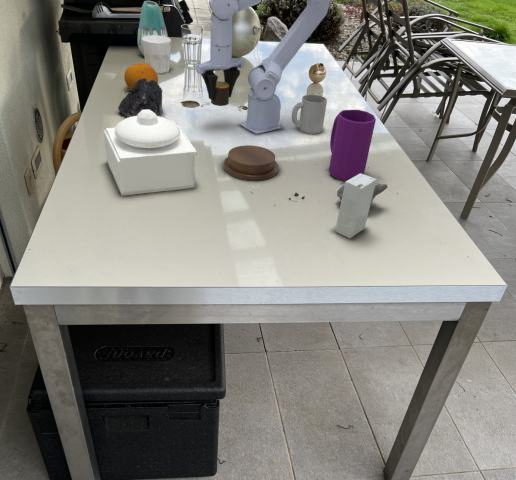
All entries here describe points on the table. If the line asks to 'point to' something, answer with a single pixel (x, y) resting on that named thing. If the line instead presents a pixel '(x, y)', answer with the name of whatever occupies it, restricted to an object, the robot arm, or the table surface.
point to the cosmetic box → (355, 205)
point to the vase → (150, 23)
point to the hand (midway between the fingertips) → (220, 97)
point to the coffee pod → (221, 94)
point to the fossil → (377, 190)
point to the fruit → (139, 74)
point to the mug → (350, 143)
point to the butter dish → (149, 155)
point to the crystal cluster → (142, 99)
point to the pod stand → (251, 163)
